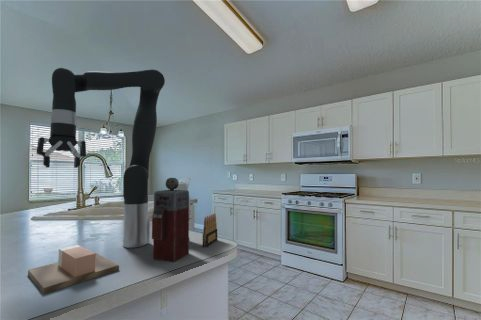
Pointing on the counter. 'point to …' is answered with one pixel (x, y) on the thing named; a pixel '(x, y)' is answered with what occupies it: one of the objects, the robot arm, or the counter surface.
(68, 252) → the block
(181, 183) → the skyscraper
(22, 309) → the counter surface
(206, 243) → the ammunition clip
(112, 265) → the board
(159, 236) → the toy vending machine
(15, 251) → the counter surface
